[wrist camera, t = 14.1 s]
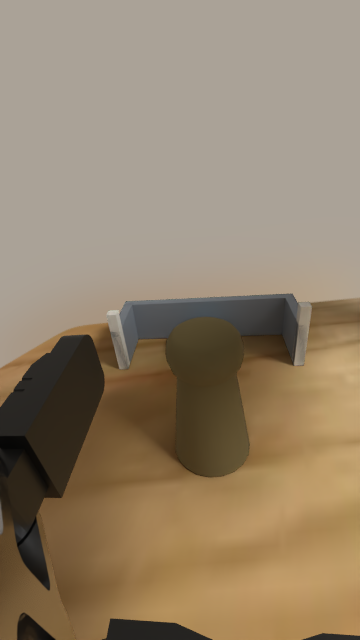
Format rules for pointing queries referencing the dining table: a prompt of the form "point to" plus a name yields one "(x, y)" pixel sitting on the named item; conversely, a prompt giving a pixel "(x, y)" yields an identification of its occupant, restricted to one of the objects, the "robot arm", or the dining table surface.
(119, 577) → the dining table surface
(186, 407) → the cork
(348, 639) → the robot arm
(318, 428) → the dining table surface
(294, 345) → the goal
